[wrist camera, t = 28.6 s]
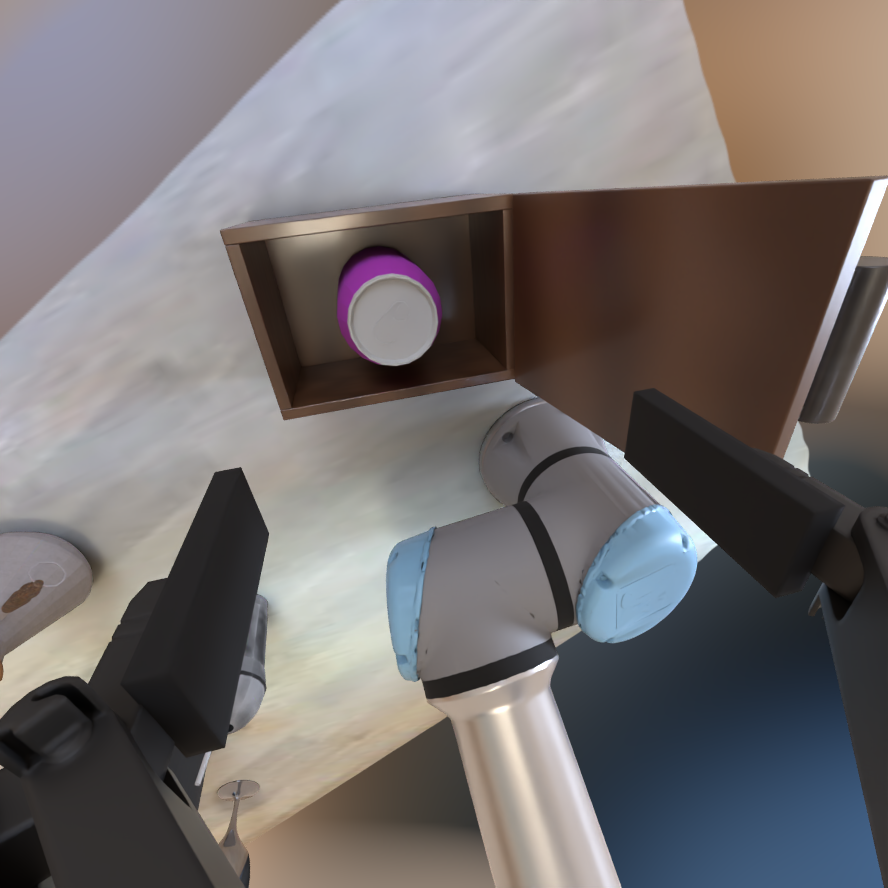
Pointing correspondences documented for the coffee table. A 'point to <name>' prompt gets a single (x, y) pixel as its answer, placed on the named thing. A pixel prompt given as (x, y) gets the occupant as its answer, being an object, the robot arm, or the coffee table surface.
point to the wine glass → (231, 840)
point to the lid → (698, 301)
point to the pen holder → (187, 773)
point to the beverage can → (387, 307)
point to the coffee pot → (37, 585)
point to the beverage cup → (248, 676)
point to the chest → (316, 288)
